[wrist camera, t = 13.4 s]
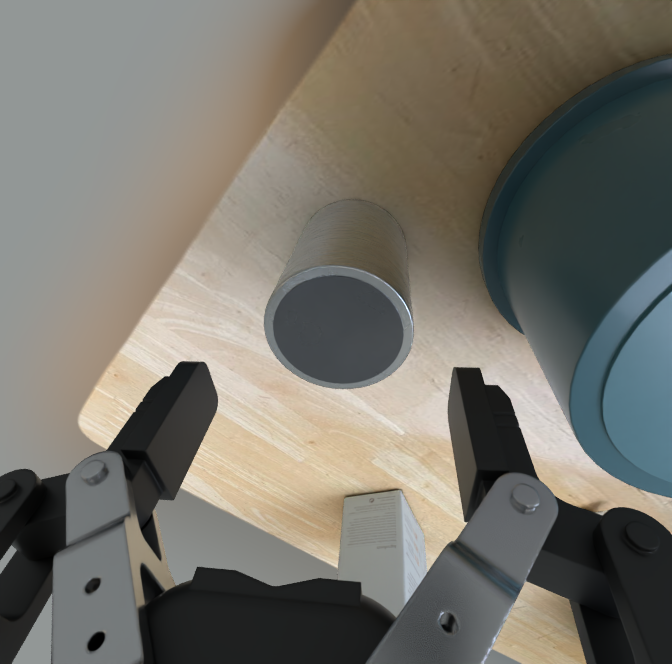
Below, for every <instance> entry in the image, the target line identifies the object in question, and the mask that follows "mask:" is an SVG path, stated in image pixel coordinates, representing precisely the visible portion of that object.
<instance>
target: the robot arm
mask: <svg viewBox="0 0 672 664" xmlns="http://www.w3.org/2000/svg"><path fill="white" fill-rule="evenodd" d="M217 406H218V396H217V392H216V389H215V387H214V384H213V381H212V378H211V375H210V372H209V369H208V367H207V365H206V363H205V362H189V361H182V362H180V363H178V365H177V366H176V367H175V369H174V370H173V372H172V373H171V375H170V376H165V377H164V378H162V379H161V380H160V381H159V382H157V383H156V384H155V385H153V386H152V387H151V388H150V390H149V391H148V393H147V394H146V396H145V397H144V398H143V402H141V403H140V404H139V405H138V407H137V408H136V412H133V414H132V415H131V417H130V418H129V419H128V421H127V422H126V424H125V425H124V427H123V428H122V429H121V431H120V432H119V434H118V435H117V436H116V438H115V439H114V441H113V442H112V443H111V445H110V446H109V448H108V449H107V450H106V451H103V452H99V453H96V454H93V455H91V456H89V457H88V458H86V459H84V460H83V461H81V462H80V463H79V464H78V465H77V466H76V467H75V468H74V469H73V470H72V471H71V473H68V474H64V475H59V476H55V477H51V478H46V479H42V480H40V478H39V477H38V476H37V475H36V474H35V473H34V472H33V471H32V470H28V469H19V470H15V471H12V472H9V473H7V474H4V475H3V476H1V477H0V560H1V559H2V557H3V556H4V555H5V553H6V551H7V550H8V549H9V547H10V546H11V545H12V546H13V547H14V548H16V549H17V551H16V552H15V554H14V555H13V557H12V559H11V560H10V561H9V563H8V564H7V565H6V567H5V568H4V570H3V571H2V573H1V574H0V664H12V662H13V660H14V658H15V656H16V655H17V653H18V651H19V650H20V648H21V646H22V644H23V643H24V641H25V639H26V637H27V636H28V634H29V632H30V630H31V629H32V627H33V625H34V623H35V622H36V620H37V618H38V616H39V615H40V613H41V611H42V609H43V608H44V606H45V604H46V602H47V601H48V599H49V597H50V595H51V594H52V595H53V596H52V645H51V648H52V649H51V664H484V663H485V661H486V659H487V657H488V655H489V653H490V651H491V649H492V647H493V645H494V643H495V641H496V639H497V637H498V635H499V633H500V631H501V629H502V627H503V625H504V623H505V621H506V619H507V617H508V615H509V613H510V611H511V609H512V607H513V605H514V603H515V601H516V599H517V597H518V595H519V593H520V591H521V589H522V587H523V585H524V583H525V581H527V582H530V583H532V584H534V585H537V586H539V587H541V588H544V589H546V590H548V591H551V592H553V593H555V594H558V595H560V596H563V597H565V598H567V599H569V601H570V604H571V608H572V612H573V615H574V619H575V623H576V626H577V630H578V634H579V637H580V641H581V645H582V648H583V652H584V656H585V659H586V663H587V664H672V535H671V533H670V532H669V531H668V530H667V529H666V528H665V527H664V526H663V525H662V524H660V523H659V522H658V521H657V520H655V519H654V518H652V517H650V516H649V515H647V514H645V513H643V512H640V511H638V510H635V509H631V508H625V507H618V508H613V509H610V510H608V511H607V512H606V513H605V514H604V515H600V514H597V513H594V512H591V511H588V510H585V509H582V508H579V507H576V506H573V505H571V504H568V503H566V502H564V501H562V500H560V499H559V498H557V497H556V496H554V494H553V493H552V492H551V490H550V489H549V488H548V487H547V486H546V485H545V484H544V483H542V482H541V481H540V480H539V478H538V477H537V474H536V472H535V469H534V466H533V463H532V460H531V458H530V455H529V452H528V449H527V446H526V443H525V440H524V438H523V435H522V432H521V429H520V428H519V423H518V420H517V417H516V416H515V412H514V409H513V406H512V403H511V400H510V398H509V397H508V396H507V395H506V394H505V392H504V391H503V390H502V389H501V388H500V387H499V386H498V385H485V384H484V380H483V377H482V373H481V370H480V368H464V367H454V368H453V372H452V378H451V386H450V393H449V400H448V422H449V428H450V434H451V441H452V447H453V453H454V459H455V466H456V472H457V478H458V484H459V490H460V497H461V503H462V509H463V515H464V522H468V523H467V525H466V526H465V528H464V529H463V531H462V532H461V534H460V535H459V536H458V538H457V539H456V540H455V541H454V542H453V541H451V542H450V543H448V544H447V546H446V547H445V548H444V549H443V551H442V552H441V553H440V555H439V556H438V558H437V559H436V561H435V562H434V564H433V565H432V567H431V568H430V570H429V571H428V572H427V574H426V575H425V577H424V578H423V580H422V581H421V583H420V584H419V586H418V587H417V589H416V590H415V592H414V593H413V594H412V596H411V597H410V599H409V600H408V602H407V603H406V605H405V606H404V608H403V609H402V611H401V612H400V613H399V615H398V616H397V618H396V617H395V616H394V615H393V614H392V613H391V612H390V611H389V610H388V609H387V608H385V607H384V606H383V605H381V604H380V603H378V602H377V601H375V600H373V599H372V598H369V597H367V596H365V595H362V587H361V582H355V581H344V580H332V579H322V578H318V579H312V580H307V581H302V582H297V583H292V584H287V585H282V586H270V585H268V584H266V583H264V582H261V581H259V580H257V579H254V578H252V577H250V576H247V575H245V574H243V573H241V572H238V571H236V570H226V569H215V568H204V567H197V569H196V571H195V574H194V577H193V579H192V580H190V581H187V582H184V583H181V584H179V585H177V586H176V585H175V583H174V580H173V578H172V576H171V573H170V571H169V568H168V564H167V560H166V555H165V550H164V546H163V542H162V537H161V532H160V527H159V522H158V518H157V514H156V511H155V510H154V508H155V506H156V504H157V502H158V500H159V499H161V500H174V499H175V497H176V494H177V492H178V490H179V488H180V486H181V484H182V482H183V480H184V478H185V476H186V474H187V472H188V469H189V467H190V465H191V463H192V461H193V459H194V457H195V455H196V453H197V451H198V449H199V447H200V444H201V442H202V440H203V438H204V436H205V434H206V432H207V430H208V428H209V426H210V424H211V422H212V420H213V417H214V415H215V413H216V410H217Z"/></svg>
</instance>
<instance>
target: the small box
mask: <svg viewBox="0 0 672 664" xmlns="http://www.w3.org/2000/svg"><path fill="white" fill-rule="evenodd" d="M426 574H427V565H426V553H425V541H424V534H423V532H422V530H421V528H420V526H419V524H418V522H417V520H416V519H415V517H414V515H413V513H412V511H411V509H410V507H409V505H408V503H407V501H406V499H405V497H404V495H403V493H402V491H401V490H395V491H388V492H381V493H374V494H367V495H359V496H353V497H346V498H344V506H343V517H342V528H341V540H340V552H339V563H338V574H337V580H344V581H355V582H361V587H362V595H365V596H367V597H369V598H372V599H373V600H375V601H377V602H378V603H380V604H381V605H383V606H384V607H385V608H387V609H388V610H389V611H390V612H391V613H392V614H393V615H394V616H395V617H396V618H397V616H398V615H399V613H400V612H401V611H402V609H403V608H404V606H405V605H406V603H407V602H408V600H409V599H410V597H411V596H412V594H413V593H414V592H415V590H416V589H417V587H418V586H419V584H420V583H421V581H422V580H423V578H424V577H425V575H426Z"/></svg>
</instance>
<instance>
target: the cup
mask: <svg viewBox="0 0 672 664" xmlns="http://www.w3.org/2000/svg"><path fill="white" fill-rule="evenodd" d="M264 329H265V335H266V338H267V341H268V344H269V346H270V348H271V350H272V351H273V353H274V355H275V356H276V357H277V359H278V360H279V361H280V362H281V363H282V364H283V365H284V366H285V367H286V368H287V369H288V370H290V371H291V372H292V373H293V374H295V375H297V376H298V377H300V378H302V379H304V380H306V381H308V382H311V383H313V384H316V385H319V386H323V387H328V388H335V389H353V388H361V387H365V386H369V385H372V384H375V383H377V382H379V381H381V380H383V379H385V378H386V377H388V376H390V375H391V374H392V373H393V372H395V371H396V370H397V369H398V368H399V367H400V366H401V365H402V363H403V362H404V360H405V359H406V357H407V356H408V354H409V352H410V350H411V346H412V343H413V337H414V323H413V313H412V302H411V292H410V282H409V271H408V261H407V251H406V243H405V238H404V235H403V232H402V230H401V228H400V226H399V225H398V223H397V222H396V220H395V219H394V218H393V217H392V216H391V215H390V214H389V213H388V212H387V211H385V210H384V209H382V208H381V207H379V206H377V205H375V204H373V203H370V202H366V201H362V200H342V201H338V202H334V203H332V204H329V205H327V206H325V207H324V208H322V209H321V210H319V211H318V212H317V213H316V214H315V215H314V216H313V217H312V218H311V219H310V220H309V222H308V223H307V225H306V227H305V228H304V230H303V232H302V234H301V236H300V238H299V241H298V243H297V245H296V247H295V249H294V251H293V253H292V255H291V257H290V259H289V261H288V263H287V265H286V267H285V269H284V271H283V273H282V275H281V277H280V279H279V281H278V283H277V285H276V287H275V289H274V291H273V293H272V295H271V297H270V299H269V301H268V304H267V306H266V309H265V315H264Z"/></svg>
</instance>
